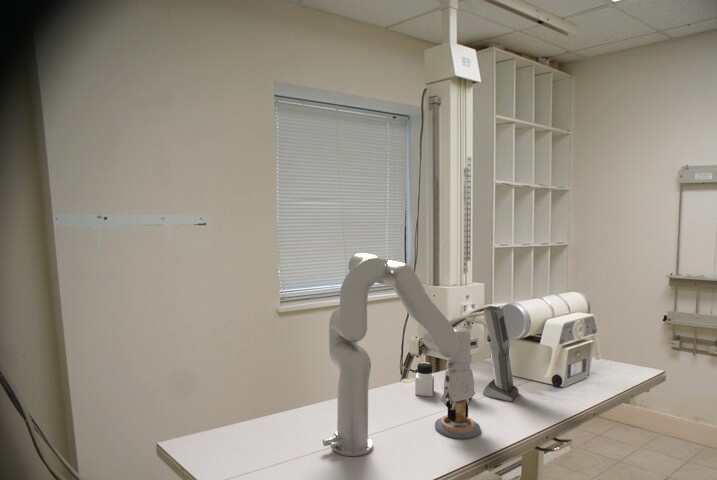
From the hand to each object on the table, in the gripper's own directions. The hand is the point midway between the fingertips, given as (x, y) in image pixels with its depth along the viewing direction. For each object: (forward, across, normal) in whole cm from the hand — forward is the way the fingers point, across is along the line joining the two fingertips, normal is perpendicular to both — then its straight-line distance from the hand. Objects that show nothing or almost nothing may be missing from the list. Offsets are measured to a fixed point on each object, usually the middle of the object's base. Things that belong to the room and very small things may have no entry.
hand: (457, 417), depth 154 cm
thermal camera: (+4, +37, +14) cm, 40 cm away
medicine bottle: (+4, +11, +31) cm, 33 cm away
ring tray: (+4, 0, 0) cm, 4 cm away
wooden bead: (+1, 0, 0) cm, 1 cm away
